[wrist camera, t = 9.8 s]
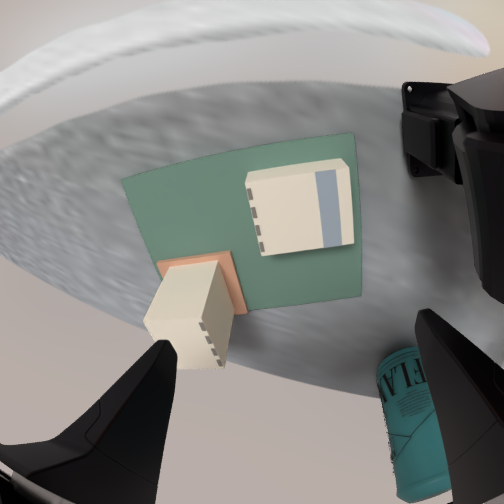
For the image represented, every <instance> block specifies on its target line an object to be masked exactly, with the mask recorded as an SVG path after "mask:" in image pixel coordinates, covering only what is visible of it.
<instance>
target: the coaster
mask: <svg viewBox="0 0 504 504" xmlns="http://www.w3.org/2000/svg"><path fill="white" fill-rule="evenodd" d="M216 260H218V262H219V265H220V268H221V271H222V274H223V277H224V280H225V283H226V286H227V289H228V292H229V295H230V298H231V301H232V304H233V307H234V315H239V314H248V308H247V305H246V302H245V298H244V295H243V291H242V288H241V285H240V281H239V278H238V274H237V271H236V267H235V264H234V261H233V257H232V254H231V250H229V251H222V252H215V253H208V254H201V255H194V256H187V257H180V258H174V259H167V260H160V261H158V262H157V263H156V264H157V266H158V269H159V271H160V273H161V275H162V278H163V279H164V277H165V275H166V273H167V271H168V269H169V267H173V266H180V265H188V264H195V263H202V262H209V261H216Z"/></svg>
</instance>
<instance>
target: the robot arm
mask: <svg viewBox="0 0 504 504" xmlns="http://www.w3.org/2000/svg"><path fill="white" fill-rule="evenodd" d="M408 86H410V87H411V88H412V91H411V92H410V93H409V92H408ZM402 95H403V104H404V111H403V113H402V124H403V137H404V149H405V151H407V159H408V172H409V173H410V174H411V175H412V176H414V177H423V176H436V175H444V176H446V177H447V178H449V179H450V180H451V181H453V182H454V183H456V184H458V185H460V184H461V185H462V186H463V187H464V189H465V195H466V200H467V206H468V212H469V219H470V226H471V234H472V243H473V254H474V266H475V268H476V271H477V273H478V276H479V278H480V280H481V281H482V287H483V289H484V290H485V291H486V292H487V293H488V294H489V295H490V296H491V297H493V298H494V299H496V300H497V301H499V302H501V303H502V304H504V68H502V69H498V70H495V71H492V72H489V73H485V74H482V75H479V76H476V77H473V78H470V79H467V80H464V81H461V82H458V83H455V84H447V83H432V82H405V83H403V85H402ZM414 167H417V170H416V171H415V172H413V169H414ZM415 334H416V338H417V343H418V347H419V352H420V357H421V362H422V366H423V370H424V374H425V377H426V380H427V384H428V387H429V390H430V394H431V397H432V401H433V404H434V408H435V412H436V416H437V419H438V423H439V427H440V432H441V436H442V440H443V445H444V449H445V454H446V459H447V465H448V466H449V467H448V471H449V476H450V483H451V489H452V496H453V504H483V503H485V504H504V370H503V369H502V368H501V367H500V366H499V365H498V364H497V363H494V361H493V360H492V359H491V358H490V357H488V356H487V355H486V354H485V353H484V352H483V351H481V350H480V349H479V348H478V347H477V346H476V345H474V344H473V343H472V342H471V341H470V340H468V339H467V338H466V337H465V336H464V335H462V334H461V333H460V332H459V331H457V330H456V329H455V328H454V327H452V326H451V325H450V324H449V323H448V322H446V321H445V320H444V319H443V318H441V317H440V316H439V315H437V314H436V313H435V312H434V311H432V310H431V309H429V308H427V309H422V310H419V312H418V314H417V319H416V324H415ZM177 361H178V356H177V353H176V351H175V349H174V347H173V346H172V344H171V342H170V341H169V340H167V339H162V340H157V341H156V342H155V343H154V344H153V345H152V346H151V347H150V348H149V349H148V350H147V351H146V352H145V353H144V354H143V356H141V357H140V358H139V359H138V361H136V362H135V363H134V364H133V366H131V367H130V368H129V369H128V371H126V372H125V373H124V374H123V375H122V376H121V377H120V378H119V379H118V380H117V381H116V382H115V383H114V385H112V386H111V387H110V388H109V389H108V390H107V391H106V393H104V395H102V396H101V397H100V399H99V400H97V401H96V403H94V404H93V405H92V406H91V407H90V408H89V409H88V410H87V411H86V412H85V413H84V414H83V415H82V416H81V417H79V418H78V419H77V420H76V421H75V422H74V423H72V424H71V425H70V426H69V427H68V428H66V429H65V430H64V431H63V432H62V433H60V435H58V436H56V437H55V438H53V439H51V440H48V441H43V442H35V443H27V444H18V445H3V444H1V443H0V461H1V462H2V463H4V464H5V465H6V466H8V467H9V468H11V469H12V470H13V474H12V476H10V475H9V474H7V473H5V472H4V471H2V470H1V469H0V504H155V501H156V494H157V488H158V486H157V485H158V480H159V474H160V468H161V463H162V456H163V451H164V445H165V439H166V434H167V429H168V424H169V419H170V413H171V408H172V403H173V398H174V392H175V383H176V371H177Z"/></svg>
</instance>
